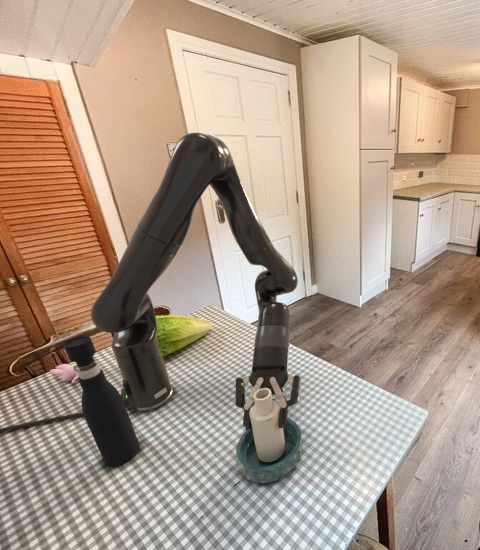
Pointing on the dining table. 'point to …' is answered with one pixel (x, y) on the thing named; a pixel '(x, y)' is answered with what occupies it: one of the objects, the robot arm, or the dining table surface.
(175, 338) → the lettuce
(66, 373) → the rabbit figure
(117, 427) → the black insulated flask
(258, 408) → the white bottle
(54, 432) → the dining table surface
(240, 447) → the dish
